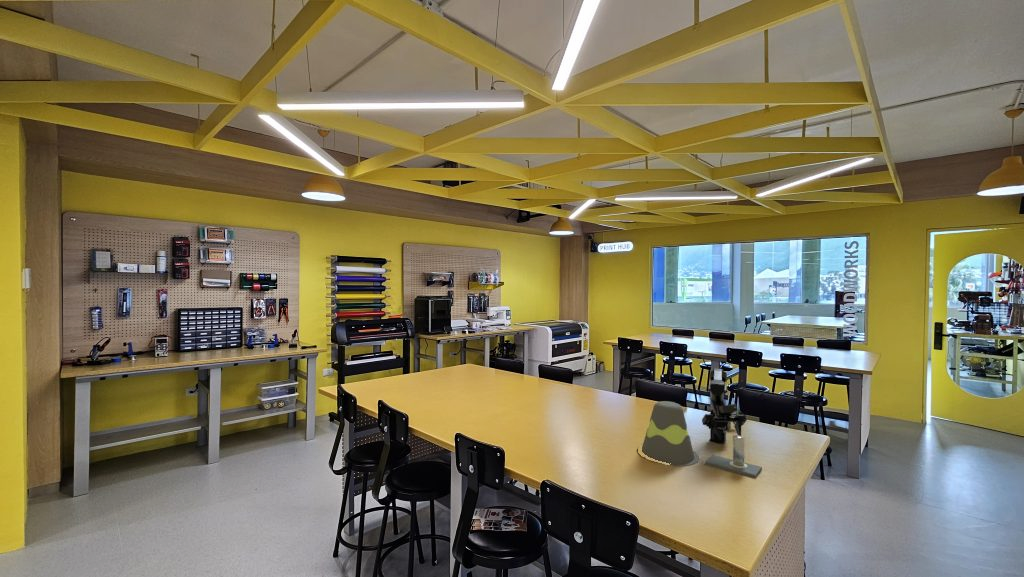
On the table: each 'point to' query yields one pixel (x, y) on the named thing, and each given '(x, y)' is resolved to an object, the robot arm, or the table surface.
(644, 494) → the table surface
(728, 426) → the mechanical component
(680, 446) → the grey tapered cylinder
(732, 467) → the mat
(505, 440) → the table surface
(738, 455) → the metal pin
